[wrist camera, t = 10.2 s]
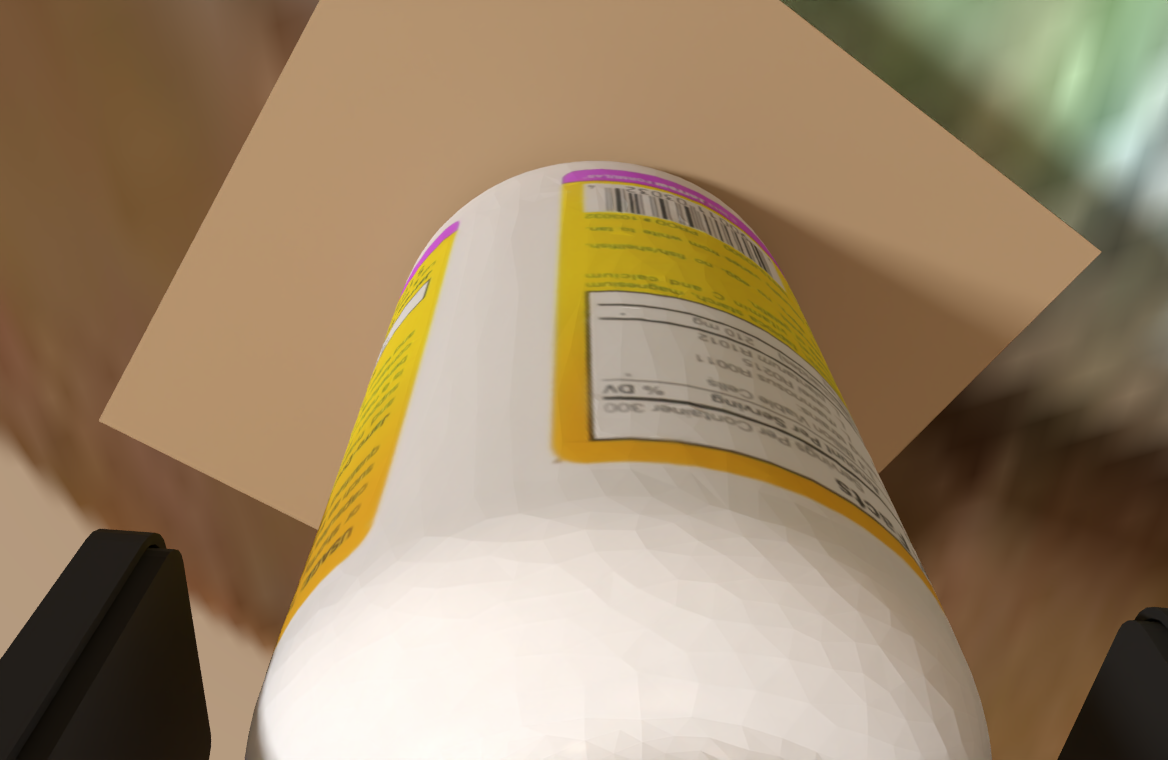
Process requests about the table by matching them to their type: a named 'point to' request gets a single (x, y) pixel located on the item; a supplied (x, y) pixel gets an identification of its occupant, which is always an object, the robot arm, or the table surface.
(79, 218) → the table surface
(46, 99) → the table surface
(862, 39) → the table surface
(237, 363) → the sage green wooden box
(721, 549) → the supplement bottle
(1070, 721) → the table surface
